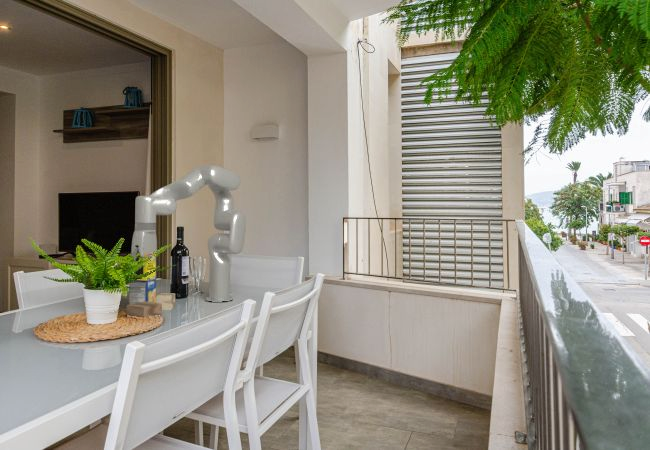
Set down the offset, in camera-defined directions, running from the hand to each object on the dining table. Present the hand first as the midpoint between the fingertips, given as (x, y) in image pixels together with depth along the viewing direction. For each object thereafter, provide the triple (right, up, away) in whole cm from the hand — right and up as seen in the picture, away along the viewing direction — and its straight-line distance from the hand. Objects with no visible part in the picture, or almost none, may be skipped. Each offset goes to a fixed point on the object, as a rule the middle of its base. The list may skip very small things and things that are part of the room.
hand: (144, 273), depth 171 cm
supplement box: (0, -3, 0) cm, 3 cm away
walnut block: (0, -17, 0) cm, 17 cm away
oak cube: (+2, -17, +16) cm, 23 cm away
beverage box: (-8, -17, +19) cm, 26 cm away
